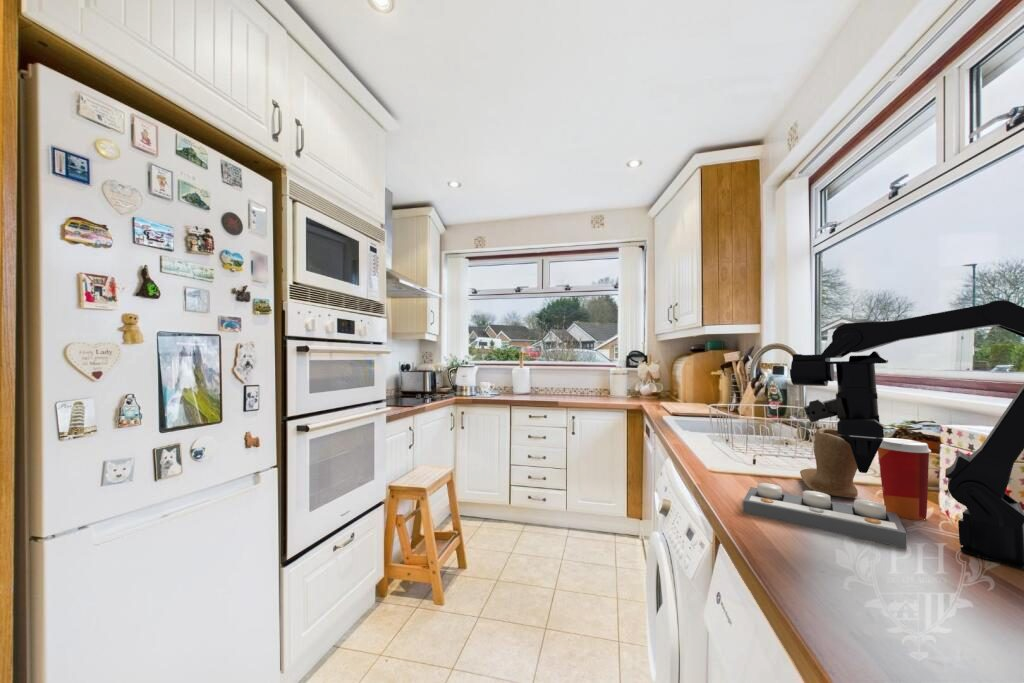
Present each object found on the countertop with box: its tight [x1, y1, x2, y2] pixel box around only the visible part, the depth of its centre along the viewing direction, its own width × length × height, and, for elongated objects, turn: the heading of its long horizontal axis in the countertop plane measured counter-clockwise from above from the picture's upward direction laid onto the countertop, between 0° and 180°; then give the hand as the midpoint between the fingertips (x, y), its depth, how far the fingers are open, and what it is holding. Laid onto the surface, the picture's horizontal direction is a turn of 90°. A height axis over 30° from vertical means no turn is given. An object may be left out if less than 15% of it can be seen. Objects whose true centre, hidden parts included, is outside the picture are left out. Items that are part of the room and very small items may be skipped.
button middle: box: [802, 490, 831, 509], centre depth 78 cm, size 4×4×2 cm
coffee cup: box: [877, 437, 932, 521], centre depth 80 cm, size 8×8×15 cm
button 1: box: [756, 482, 783, 499], centre depth 83 cm, size 4×4×2 cm
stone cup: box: [799, 427, 859, 499], centre depth 94 cm, size 15×12×15 cm
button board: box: [742, 486, 908, 549], centre depth 77 cm, size 24×11×3 cm, turn 51°
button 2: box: [853, 499, 886, 519], centre depth 73 cm, size 4×4×2 cm
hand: (862, 467), depth 75 cm, fingers open, 9 cm apart
